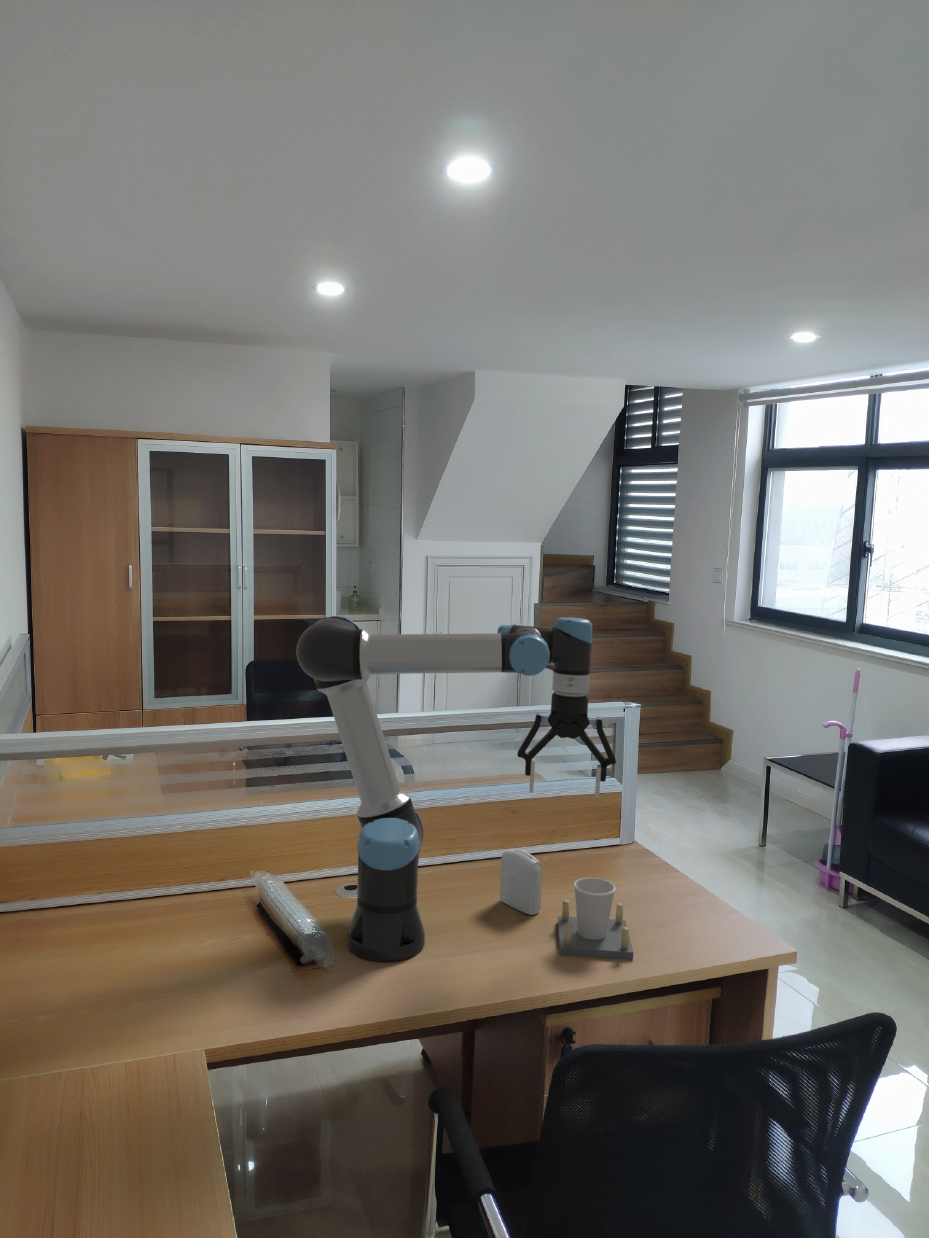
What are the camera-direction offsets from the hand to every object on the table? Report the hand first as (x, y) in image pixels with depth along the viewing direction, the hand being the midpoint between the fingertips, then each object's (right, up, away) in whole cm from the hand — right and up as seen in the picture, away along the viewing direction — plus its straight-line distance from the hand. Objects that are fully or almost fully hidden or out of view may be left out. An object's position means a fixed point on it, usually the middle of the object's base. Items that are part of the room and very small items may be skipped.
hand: (564, 793), depth 183 cm
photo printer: (-9, -27, +9) cm, 29 cm away
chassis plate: (+5, -28, -6) cm, 29 cm away
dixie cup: (+5, -27, -6) cm, 28 cm away
